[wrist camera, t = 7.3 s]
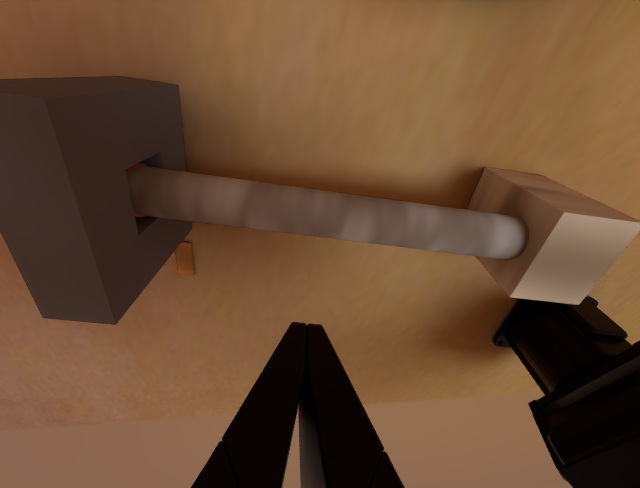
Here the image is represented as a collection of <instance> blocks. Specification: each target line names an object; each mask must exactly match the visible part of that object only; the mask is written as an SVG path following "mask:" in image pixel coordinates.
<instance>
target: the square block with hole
mask: <svg viewBox="0 0 640 488" xmlns="http://www.w3.org/2000/svg"><path fill="white" fill-rule="evenodd" d="M137 163H140V164H145V165H147V166H148V167H154V168H162V169H169V170H176V171H184V172H187V169H186V159H185V149H184V139H183V128H182V118H181V108H180V98H179V88H178V85H174V84H168V83H162V82H155V81H149V80H143V79H136V78H130V77H124V76H107V77H68V78H29V79H0V232H1V234H2V236H3V238H4V240H5V242H6V244H7V246H8V248H9V250H10V252H11V254H12V256H13V258H14V260H15V262H16V264H17V266H18V268H19V270H20V272H21V274H22V276H23V279H24V281H25V283H26V285H27V287H28V289H29V291H30V293H31V295H32V297H33V299H34V301H35V303H36V305H37V307H38V309H39V311H40V313H41V315H42V317H43V318H48V319H59V320H70V321H80V322H91V323H102V324H113V325H116V324H117V322H118V321H119V320H120V319H121V317H122V316H123V315H124V314H125V312H126V311H127V310H128V309H129V307H130V306H131V305H132V304H133V302H134V301H135V300H136V299H137V297H138V296H139V295H140V293H141V292H142V291H143V290H144V288H145V287H146V286H147V285H148V283H149V282H150V281H151V280H152V278H153V277H154V276H155V275H156V273H157V272H158V271H159V270H160V268H161V267H162V266H163V265H164V263H165V262H166V261H167V260H168V258H169V257H170V256H171V255H172V253H173V252H174V251H175V250H176V248H177V247H178V246H179V245H180V243H181V242H182V241H183V240H184V238H185V237H186V236H187V235H188V233H189V232H190V231H191V230H192V221H185V220H177V219H169V218H160V217H152V216H144V217H136V216H135V215H134V210H133V205H132V201H131V196H130V191H129V186H128V182H127V177H126V172H125V169H127V168H129V167H131V166H133V165H135V164H137Z"/></svg>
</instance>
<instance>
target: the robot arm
mask: <svg viewBox="0 0 640 488" xmlns="http://www.w3.org/2000/svg"><path fill="white" fill-rule="evenodd" d="M597 305H598V302H597V301H596V300H595V299H594V298H591V297H585V298H584V299H583V301H582V302H581V303H580V304H579V305H575V304H566V303H557V302H548V301H539V300H530V299H521V298H520V299H519V301H518V302H517V304H516V305H515V307H514V308H513V310H512V311H511V313H510V314H509V316H508V317H507V319H506V320H505V322H504V323H503V325H502V326H501V328H500V329H499V331H498V332H497V334H496V335H495V337H494V338H493V343H494V344H495V345H496V346H499V347H509V348H512V349H513V350H514V352H515V353H516V355H517V356H518V357H519V359H520V360H521V362H522V363H523V365H524V366H525V367H526V369H527V370H528V372H529V373H530V375H531V376H532V377H533V379H534V380H535V382H536V383H537V385H538V386H539V387H540V389H541V390H542V392H543V393H544V395H545V396H543V397H542V398H540V399H538V400H533V401H531V402H530V403H529V407H530V409H531V411H532V413H533V417H534V419H535V421H536V424H537V426H538V428H539V430H540V433H541V435H542V437H543V440H544V441H545V444H546V446H547V448H548V451H549V453H550V455H551V457H552V460H553V462H554V464H555V466H556V468H557V469H558V470H559V473H560V475H561V476H562V477H563V479H564V480H565V481H567V482H569V483H570V485H571V486H572V487H573V488H640V341H638V342H636V343H634V344H633V345H631V344H630V343H629V342H628V341H627V340H625V339H626V338H627V337H628V335H627V333H626V332H625V331H624V330H623V329H622V328H621V327H620V326H618V325H617V324H616V323H615V322H614V321H613V320H611V319H610V318H609V317H608V316H607V315H605V314H604V313H603V312H602V311H601V310H600V309H598V308H597ZM298 404H299V443H300V444H299V446H300V474H301V475H300V476H301V488H404V485H403V484H402V482H401V480H400V478H399V476H398V474H397V472H396V470H395V468H394V467H393V464H392V463H391V461H390V458H389V456H388V454H387V453H386V452H383V451H384V447H383V445H382V443H381V441H380V439H379V437H378V435H377V433H376V431H375V429H374V427H373V425H372V423H371V421H370V419H369V417H368V415H367V413H366V411H365V409H364V407H363V405H362V403H361V401H360V399H359V397H358V395H357V393H356V391H355V389H354V387H353V385H352V383H351V381H350V379H349V377H348V375H347V374H346V372H345V370H344V368H343V366H342V364H341V362H340V360H339V358H338V356H337V354H336V352H335V350H334V348H333V346H332V344H331V342H330V340H329V338H328V336H327V334H326V332H325V330H324V328H323V326H322V325H319V324H308V325H306V324H305V323H299V322H292V323H291V324H290V326H289V328H288V329H287V331H286V333H285V334H284V336H283V338H282V339H281V341H280V343H279V344H278V346H277V348H276V349H275V351H274V353H273V354H272V356H271V357H270V359H269V361H268V362H267V364H266V366H265V367H264V369H263V371H262V372H261V374H260V376H259V377H258V379H257V381H256V382H255V384H254V386H253V387H252V389H251V391H250V392H249V394H248V396H247V397H246V399H245V401H244V402H243V404H242V406H241V407H240V409H239V411H238V412H237V414H236V415H235V417H234V419H233V420H232V422H231V424H230V425H229V427H228V429H227V430H226V432H225V434H224V436H223V437H222V441H220V442H219V443H218V445H217V447H216V448H215V450H214V452H213V453H212V455H211V457H210V458H209V460H208V462H207V463H206V465H205V466H204V468H203V469H202V471H201V472H200V474H199V475H198V477H197V479H196V480H195V482H194V484H193V485H192V487H191V488H282V486H283V481H284V476H285V471H286V465H287V461H288V455H289V450H290V446H291V440H292V435H293V430H294V425H295V420H296V415H297V409H298Z"/></svg>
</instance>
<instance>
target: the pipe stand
mask: <svg viewBox="0 0 640 488" xmlns="http://www.w3.org/2000/svg"><path fill="white" fill-rule="evenodd" d="M125 172H126V177H127V182H128V186H129V191H130V196H131V201H132V205H133V210H134V215H135V216H136V217H144V216H152V217H160V218H169V219H177V220H185V221H193V222H201V223H210V224H218V225H226V226H234V227H242V228H251V229H259V230H267V231H275V232H283V233H292V234H300V235H308V236H316V237H324V238H333V239H341V240H349V241H357V242H365V243H374V244H382V245H390V246H398V247H406V248H415V249H423V250H431V251H439V252H447V253H456V254H464V255H472V256H475V257H476V258H477V259H478V260H479V261H480V263H481V264H482V265H483V266H484V267H485V269H486V270H487V271H488V272H489V273H490V274H491V276H492V277H493V278H494V279H495V280H496V281H497V283H498V284H499V285H500V286H501V287H502V289H503V290H504V291H505V292H506V293H507V294H508V296H509V297H512V298H521V299H530V300H539V301H548V302H557V303H566V304H575V305H579V304H580V303H581V302H582V301H583V299H584V298H585V297H586V296H587V294H588V293H589V292H590V291H591V290H592V288H593V287H594V286H595V285H596V283H597V282H598V281H599V280H600V279H601V277H602V276H603V275H604V274H605V272H606V271H607V270H608V269H609V268H610V266H611V265H612V264H613V263H614V261H615V260H616V259H617V258H618V257H619V255H620V254H621V253H622V252H623V250H624V249H625V248H626V247H627V246H628V244H629V243H630V242H631V241H632V240H633V238H634V237H635V236H636V235H637V233H638V232H639V231H640V221H639V220H637V219H635V218H633V217H630V216H628V215H626V214H624V213H622V212H620V211H618V210H615V209H613V208H611V207H609V206H607V205H605V204H603V203H600V202H598V201H596V200H594V199H592V198H590V197H587V196H585V195H583V194H581V193H579V192H577V191H575V190H572V189H570V188H568V187H566V186H564V185H562V184H560V183H557V182H555V181H553V180H551V179H549V178H547V177H545V176H542V175H536V174H529V173H523V172H516V171H509V170H502V169H496V168H489V167H485V169H484V171H483V173H482V175H481V178H480V180H479V182H478V184H477V187H476V189H475V191H474V193H473V196H472V198H471V200H470V202H469V205H468V207H467V209H466V210H465V209H458V208H450V207H443V206H436V205H428V204H421V203H413V202H406V201H399V200H391V199H384V198H376V197H369V196H362V195H354V194H347V193H339V192H332V191H325V190H317V189H310V188H302V187H295V186H288V185H280V184H273V183H265V182H258V181H251V180H243V179H236V178H228V177H221V176H214V175H206V174H199V173H191V172H184V171H176V170H169V169H162V168H154V167H148V166H147V165H145V164H140V163H137V164H135V165H133V166H131V167H129V168H127V169H125ZM175 252H176V259H177V266H178V274H184V275H195V270H194V260H193V250H192V242H185V241H182V242H181V243H180V245H179V246H178V247H177V248H176V250H175Z"/></svg>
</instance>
